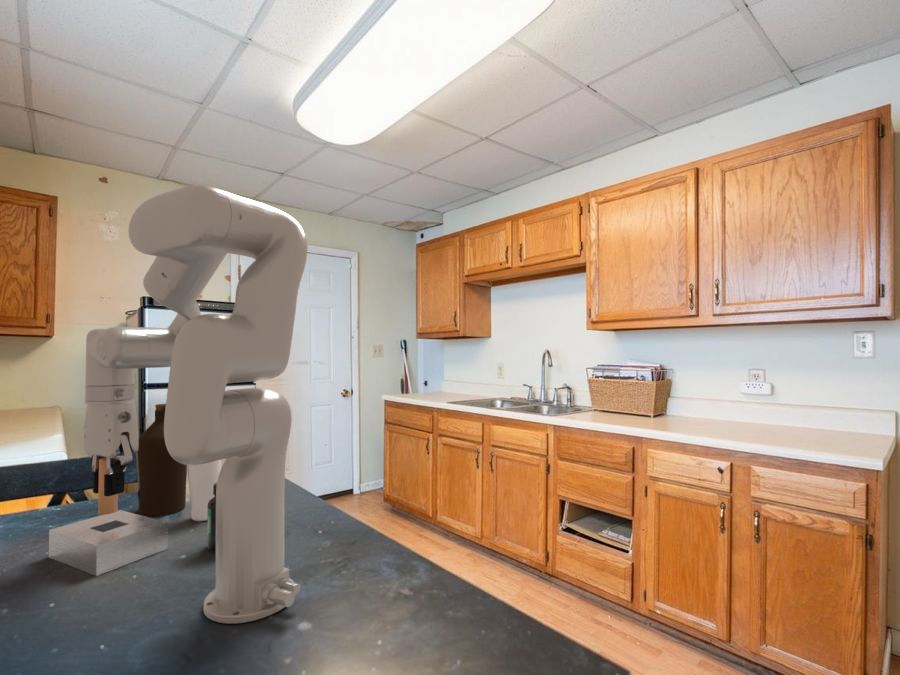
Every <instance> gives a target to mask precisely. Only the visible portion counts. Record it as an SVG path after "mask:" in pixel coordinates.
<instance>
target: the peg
mask: <svg viewBox="0 0 900 675" xmlns="http://www.w3.org/2000/svg"><path fill="white" fill-rule="evenodd" d="M116 460H119V459H115V460H113V464H114V462H115V461H116ZM105 474H107V462H106V457H103V458H100V459H99V490H98V493H97V496H98V499H97V501H98V503H97V506H98V507H97V514H98V516H100V515H106V514H111V513H115V512H117V511H118V510H119V494H115V495H112V496H104V475H105Z"/></svg>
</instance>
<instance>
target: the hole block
mask: <svg viewBox="0 0 900 675" xmlns="http://www.w3.org/2000/svg"><path fill="white" fill-rule="evenodd" d="M168 524H169V523H168V522H167V521H164V520H161V519H157V518H152V517H145V516H142V515H140V514H139V513H138V514H136V513H134V512H131V511H130V512H129V511H127V510H126V511H125V510H122V509H118V511H117V512H115V513H111V514H106V515H98V516H94V517H90V518H87V519H84V520H83V519H82V520H80V521H79V520H78V521H76V522H73V523H70V524H66V525H65V524H64V525H63V526H62V525H61V526H58V527H55V528H51V529H49V530H48V558H49V559H51V560H53V559H54V561H57V562H59V563H61V564H65V565H66V564H67V565H66V566H69V567H71V568H73V569H77V570H79V569H80V570H79V571H82V572H85V573H88V574H90V575H93V576H95V577H98V576H100V575H103V574H105V573H108V572H110V571H113V570H116V569H119V568H121V567H124V566H126V565H129V564H132V563H134V562H136V561H137V562H138V561H139V560H143V559H145V558H147V557H150V556H153V555H156V554H158V553H160V552H163V551H166V550H167V549H168V548H169V547H168V540H169V539H168V537H169V536H168V533H169V531H168V529H169V527H168V526H169V525H168Z"/></svg>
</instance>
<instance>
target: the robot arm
mask: <svg viewBox="0 0 900 675" xmlns="http://www.w3.org/2000/svg"><path fill="white" fill-rule="evenodd" d="M128 238H129V240H130V244H132V246H133V248H134V249H135V250H136V251H138V252H140V253H141V254H144V255H149V256H153V257H155V258H154V260H153V262H152V263H151V265H150V266H149V269H148V270H147V272H146V273H145V275H144V277H143V280H142V284H143V288H144V290H145V292H146V293H147V294H148V296H150V298H152V299H153V300H154V301H156V302H157V303H158V304H160V305H162V306H163V307H165V308H167V309H169V310H171V311H172V312H175V313H177V314H176V316H175V317H174V319H173V320H172V322H171V324H170V325H169V326H168V327H149V326H148V327H144V326H142V327H141V326H137V327H135V326H113V327H108V328H95V329H91V330H90V331H88V333H87V334H86V339H85V341H86V342H85V387H84V388H85V390H84V404H85V405H87V406H86V410H85V420H84V429H83V430H84V431H83V432H84V433H83V434H84V435H83V443H84V445H83V446H84V450H85V452H86V454H87V456H88V457H89V458H90V461H91V469H92V473H93V474H92V492H93V494H98V490H99V459H100V458H103V457H106V462H107V474H105V475H104V496H112V495H115V494H118V495H119V494H123V493H124V492H125V474H126V473H125V472H126V471H127V465H128V464H130V463H131V462H132V461H133V455H135V454H136V452H137V451H138V446H139V442H138V440H139V425H138V422H139V421H138V414H137V408H136V407H137V406H136V402H135V383H136V382H135V380H136V379H135V377H136V375H135V374H136V373H135V372H136V370H137V369H150V368H151V369H152V368H155V369H156V368H159V369H160V368H169V376H168V382H167V383H168V385H167V390H166V391H167V393H166V401H165V404H166V408H165V418H164V439H165V444H166V447H167V450H168V452H169V454H170V455H171V457H172V458H173V459H174V460H176V461H177V462H179V463H181V464H185V465H187V466H188V465H199V464H205V463H209V462H213V461H218V460H224V459H225V460H224V462H223V463H222V465H221V471H220V474H219V477H218V481H217V486H216V552H215V588H214V589H212V590H211V592H209V593H208V594H207V596H205V599H204V601H203V614H204V615H205V616H206V617H205V618H207V619H209V620H211V621H213V622H217V623H219V624H227V625H229V624H231V625H232V624H244V623H245V624H246V623H249V622H253V621H258V620H261V619H264V618H267V617H270V616H272V615H273V614H276V613H277V612H280V611H282V609H284V608H289V607H291V606H293V604H294V602H295V600H296V595H298V594H299V593H300V591H301V588H302V587H301V584H299V583H297V582H295V581H294V580H293V579H292V578H290V568H288V567H285V566H286V565H285V559H286V558H285V556H286V555H285V554H286V552H285V544H286V543H285V542H286V540H285V539H286V538H285V536H286V535H285V534H286V533H285V532H286V530H285V522H286V521H285V518H286V517H285V513H286V512H285V492H286V491H285V490H286V488H285V487H286V484H285V483H286V460H287V459H286V458H287V451H288V446H289V438H290V435H291V428H292V421H293V420H292V409H291V406H290V404H289V402H288V401H287V399H286V398H285V396H284V395H282V394H281V393H280V392H278V391H276V390H274V389H272V388H271V389H270V388H266V387H265V388H264V387H248V388H247V387H246V388H239V389H238V388H237V389H228V390H226V387H227V384H234V383H236V384H237V383H247V382H248V383H250V382H259V381H266V380H271V379H274V378H277V377H279V376H280V375H282V374H283V373H284V372H285V371H286V369H287V366H288V364H289V360H290V354H291V348H292V340H293V333H294V326H295V319H296V318H295V317H296V309H297V303H298V302H297V301H298V295H299V289H300V285H301V281H302V278H303V274H304V271H305V267H306V264H307V258H308V247H309V246H308V240H307V236H306V233H305V231H304V228H303V226H302V225H301V224H300V223H299V221H298V220H296V219H295V218H294V217H293V216H291V215H290V214H288V213H287V212H284V211H283V210H280V209H278V208H276V207H274V206H271V205H269V204H266V203H263V202H260V201H256V200H254V199H251V198H247V197H244V196H240V195H237V194H235V193H231V192H229V191H225V190H222V189H219V188H216V187H212V186H209V185H203V184H192V185H187V186H183V187H180V188H177V189H174V190H173V189H172V190H170V191H167V192H164V193H161V194H157V195H155V196H153V197H150V198H148V199H147V200H145V201H144V202H142V203H141V204H140V205H139V206H138V207H137V208H136V209H135V210H134V212H133V214H132V216H131V217H130V220H129V224H128ZM227 254H232V255H237V256H243V257H248V258H251V259H254V261H253V262H252V263H251V264H250V265H249V266H248V267H247V269H245V271H244V272H243V274H242V275H241V277H240V279H239V280H238V282H237V286H236V290H235V298H234V299H235V301H234V305H233V309H232V310H233V311H232V312H231V314H222V313H221V314H220V313H205V314H201V309H200V307H199V305H198V302H197V300H198V298H200V296H201V294H202V293H203V291H204V289H205V288H206V286H207V285H208V284H209V282H210V280H211V279H212V277H213V276H214V275H215V273H216V271H217V270H218V268H219V266H220V265H221V264H222V262H223V260H224V259H225V257H226V256H227ZM117 453H119V454H118V455H117ZM115 459H119V460H116V461H115V462H114V464H113V460H115Z"/></svg>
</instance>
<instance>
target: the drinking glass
mask: <svg viewBox="0 0 900 675" xmlns="http://www.w3.org/2000/svg"><path fill="white" fill-rule="evenodd" d="M222 460H223V459H222ZM222 460H218V461H213V462H209V463H205V464H199V465H187V479H188V487H189V488H188V489H189V490H188V491H189V500H190V501H189V502H190V517H191V520H192V521H194V522H207V506H208V502H209V501H210V500H211V499H212V498H213V497H215V495H213V485H214V484H215V483H217V481H218V477H219V474H220V471H221V469H222V465H223V463H222Z"/></svg>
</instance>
